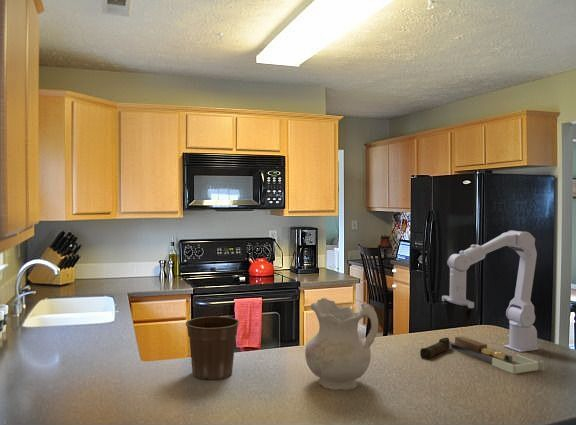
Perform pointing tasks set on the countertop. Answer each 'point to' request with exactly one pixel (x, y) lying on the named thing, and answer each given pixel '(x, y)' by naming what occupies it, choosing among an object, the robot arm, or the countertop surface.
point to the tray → (524, 365)
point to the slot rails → (476, 353)
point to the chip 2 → (498, 355)
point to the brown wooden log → (435, 348)
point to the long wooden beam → (470, 343)
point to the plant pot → (212, 346)
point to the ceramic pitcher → (340, 345)
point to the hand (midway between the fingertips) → (456, 324)
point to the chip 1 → (487, 351)
